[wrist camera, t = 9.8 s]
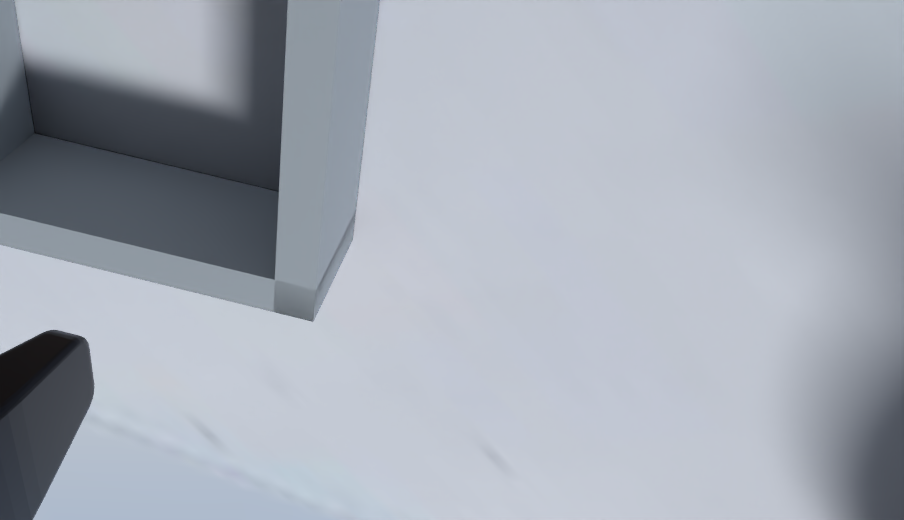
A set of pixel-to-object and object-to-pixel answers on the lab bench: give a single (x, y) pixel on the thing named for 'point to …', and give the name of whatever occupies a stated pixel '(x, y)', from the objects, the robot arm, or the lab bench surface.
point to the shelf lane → (205, 181)
